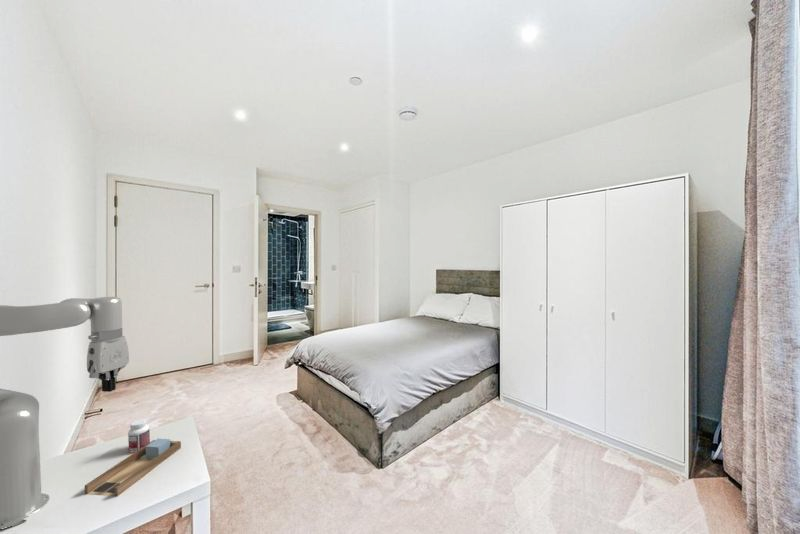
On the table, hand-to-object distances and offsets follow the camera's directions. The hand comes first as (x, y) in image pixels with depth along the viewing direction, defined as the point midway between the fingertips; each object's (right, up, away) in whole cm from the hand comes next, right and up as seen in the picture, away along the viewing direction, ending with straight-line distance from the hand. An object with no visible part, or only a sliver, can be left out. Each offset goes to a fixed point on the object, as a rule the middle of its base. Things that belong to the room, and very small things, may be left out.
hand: (108, 390), depth 103 cm
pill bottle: (-3, -29, +15) cm, 33 cm away
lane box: (+6, -29, +4) cm, 30 cm away
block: (+7, -28, +12) cm, 31 cm away
